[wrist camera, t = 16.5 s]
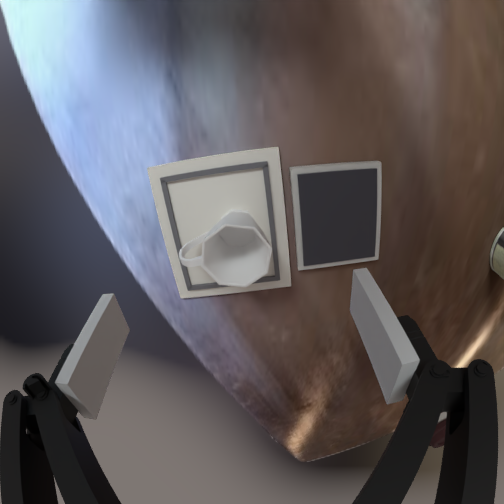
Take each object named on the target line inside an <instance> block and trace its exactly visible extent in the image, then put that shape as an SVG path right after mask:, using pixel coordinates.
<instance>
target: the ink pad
mask: <svg viewBox="0 0 504 504" xmlns="http://www.w3.org/2000/svg"><path fill="white" fill-rule="evenodd" d="M289 172H290V182H291V193H292V205H293V216H294V229H295V242H296V257H297V268H298V271H299V270H307V269H314V268H322V267H329V266H336V265H344V264H351V263H358V262H365V261H372V260H378V258H379V244H380V226H381V189H382V173H381V162H380V161H359V162H343V163H329V164H317V165H306V166H295V167H289Z"/></svg>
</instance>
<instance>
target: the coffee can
mask: <svg viewBox="0 0 504 504" xmlns="http://www.w3.org/2000/svg"><path fill="white" fill-rule="evenodd" d="M490 266H491V268H492V270H493V271H494V272H496V273H497V274H498V275H499V276H500V277H501V278H503V279H504V227H503V228H502V229H501V230H500V231H499V233H498V234H497V236H496V238H495V240H494V242H493V245H492V248H491V252H490Z"/></svg>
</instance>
